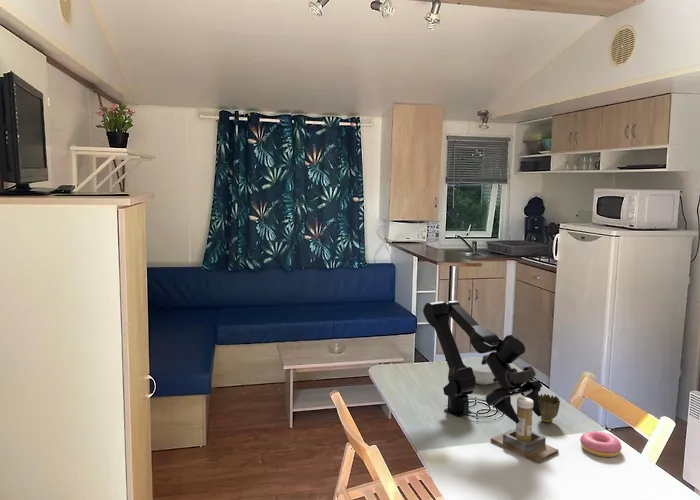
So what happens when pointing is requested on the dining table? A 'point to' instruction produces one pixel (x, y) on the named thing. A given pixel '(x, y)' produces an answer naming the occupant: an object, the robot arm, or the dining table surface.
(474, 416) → the dining table surface
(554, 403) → the cup
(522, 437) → the sprinkles bottle
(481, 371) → the cereal bowl
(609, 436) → the doughnut
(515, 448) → the socket board
